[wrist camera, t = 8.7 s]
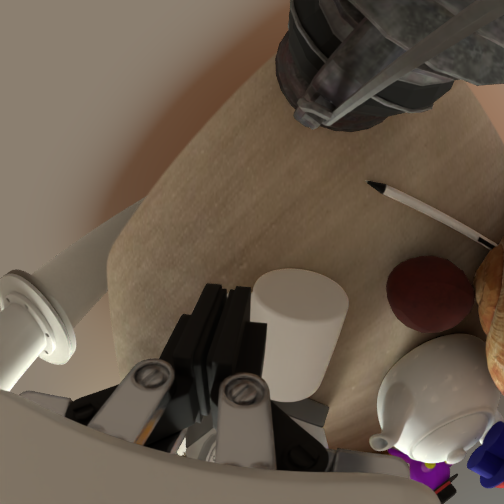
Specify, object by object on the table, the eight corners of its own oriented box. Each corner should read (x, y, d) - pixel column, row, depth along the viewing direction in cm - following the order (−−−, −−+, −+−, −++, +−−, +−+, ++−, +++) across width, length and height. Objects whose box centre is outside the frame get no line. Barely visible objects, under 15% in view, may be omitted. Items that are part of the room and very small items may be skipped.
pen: (503, 257, 23) (508, 262, 22) (362, 184, 23) (365, 187, 22) (507, 250, 23) (512, 254, 22) (366, 175, 23) (369, 177, 22)
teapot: (381, 427, 37) (389, 502, 25) (356, 358, 31) (369, 462, 19) (486, 385, 31) (513, 451, 19) (495, 299, 25) (550, 379, 13)
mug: (343, 274, 27) (356, 328, 20) (320, 350, 32) (322, 407, 24) (217, 255, 28) (190, 303, 21) (214, 334, 33) (195, 387, 25)
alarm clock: (244, 370, 34) (206, 527, 16) (341, 411, 36) (343, 544, 18) (186, 427, 43) (151, 528, 25) (264, 457, 45) (248, 552, 27)
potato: (396, 231, 24) (419, 263, 19) (472, 261, 24) (500, 293, 19) (365, 297, 28) (377, 338, 22) (440, 317, 28) (460, 354, 22)
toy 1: (456, 414, 35) (485, 478, 21) (429, 452, 39) (447, 510, 25) (404, 421, 36) (428, 496, 22) (379, 458, 40) (392, 525, 25)
